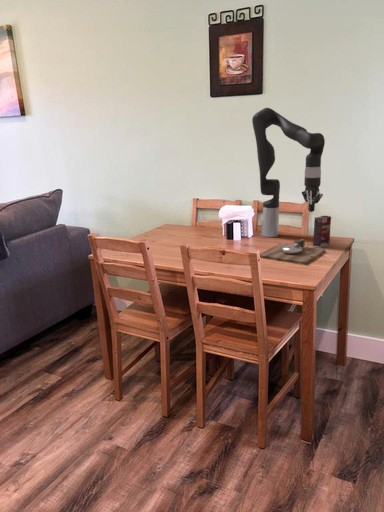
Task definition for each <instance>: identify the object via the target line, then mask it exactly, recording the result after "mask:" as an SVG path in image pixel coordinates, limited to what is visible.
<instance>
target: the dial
mask: <svg viewBox="0 0 384 512" xmlns="http://www.w3.org/2000/svg"><path fill="white" fill-rule="evenodd" d="M302 247H306V246H305V239H299V240H296V241H295V244H288V245H285V246H283V247H282V252H283V253H286V254H299V253H302Z"/></svg>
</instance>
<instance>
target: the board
mask: <svg viewBox="0 0 384 512" xmlns="http://www.w3.org/2000/svg"><path fill="white" fill-rule="evenodd" d="M285 245H289V244H286V243H278V244H276V245H275V246H272V247H271V248H269V249H266V250H265V251H263V252H261V253H259V254H260V257H261V259H267V260H272V261H273V260H274V261H280V262H285V263H291V264H292V263H293V264H298V265H304V266H307V265H308V264H309V263H311V262H313V261H314V260H315V259H317V258H318V257H320V256H321V255H323V254H324V253H326V249H325V248H317V247H309V246H304V247H302V253H299V254H286V253H283V252H282V247H283V246H285Z"/></svg>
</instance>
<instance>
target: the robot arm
mask: <svg viewBox="0 0 384 512" xmlns="http://www.w3.org/2000/svg"><path fill="white" fill-rule="evenodd" d="M251 121H252V127H253V132H254V136H255V143H256V153H257V162H258V168H259V169H258V170H259V185H260V193H261V195H262V196H272V198H271V199H268V200H265V201H263V202H262V219H261V222H260V223H261V224H260V225H261V226H260V227H261V230H260V231H261V233H260V236H261V237H265V238H276V237H278V236H279V222H280V218H279V217H280V216H279V215H280V190H281V183H280V182H281V181H280V180H279V179H278V178H277V179H276V178H274V179H273V178H271V179H270V178H269V179H268V178H267V175H268V173H269V172H270V170H271V169H272V167H273V165H274V164H275V161H276V154H275V153H276V152H275V151H276V150H275V148H274V145H272V143H271V142H270V141H269V140H268V138H267V128H270V126H272V125H273V126H274V125H275V126H277V127H279V128H280V129H281V131H282V133H283V134H284V136H286V137H287V138H289V139H290V140H293V141H294V142H298V144H299V145H301V146H302V147H304V148H305V149H309V153H308V154H307V155H306V156H305V168H304V184H303V185H304V188H305V189H304V190H302V192H301V195H302V197H303V200H304V202H305V203H307V204H308V212H310V213H314V212H315V208H316V207H315V205H316V204H318V203H319V202H320V200H321V199H322V198H323V197H324V196H323V195H324V193H321V192H320V191H321V190H320V186H321V183H322V181H321V180H322V177H321V176H322V169H321V168H322V165H321V164H322V155H323V152H324V148H325V141H326V140H325V136H324V135H323V134H322V133H320V132H313V133H312V132H308V130H307V129H306V128H305V127H303V126H300V125H298V124H296V123H293V122H292V121H290V120H289V119H287V118H285V116H284V115H281V114H280V113H279V112H277V111H275V110H274V109H273V108H271V107H265V108H263V109H260V110H259V111H257V112H256V113H254V114H253V116H252V119H251Z"/></svg>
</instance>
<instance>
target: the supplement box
mask: <svg viewBox="0 0 384 512" xmlns="http://www.w3.org/2000/svg"><path fill="white" fill-rule="evenodd" d="M313 222H314V227H313V239H312V240H313V241H312V248H318V249H323V248H325V247H328V246H330V243H331V242H330V240H331V225H332V224H331V223H332V216H331V215H330V216H329V215H324V214H323V215H320V216H316V217H314V220H313Z"/></svg>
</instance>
